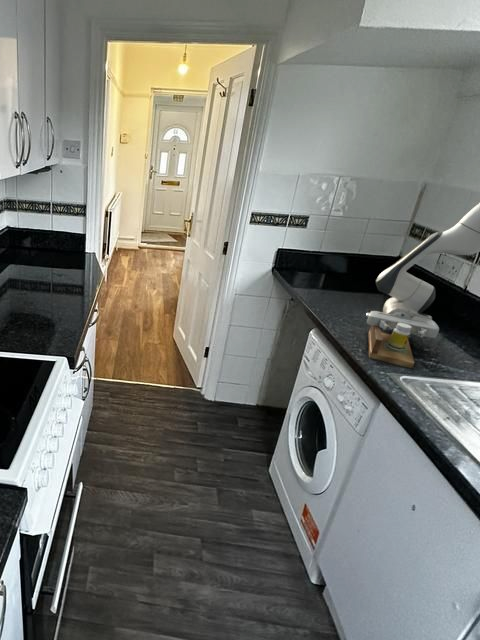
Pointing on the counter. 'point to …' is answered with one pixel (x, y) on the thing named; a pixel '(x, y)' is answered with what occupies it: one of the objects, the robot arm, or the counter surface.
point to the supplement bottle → (399, 337)
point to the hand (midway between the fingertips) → (403, 331)
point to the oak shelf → (388, 349)
